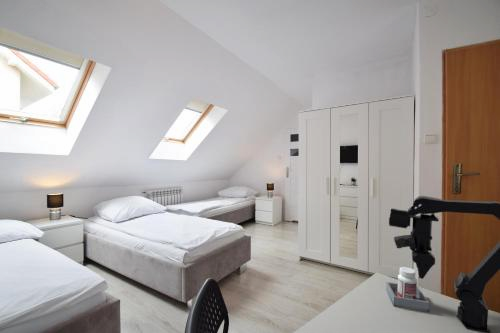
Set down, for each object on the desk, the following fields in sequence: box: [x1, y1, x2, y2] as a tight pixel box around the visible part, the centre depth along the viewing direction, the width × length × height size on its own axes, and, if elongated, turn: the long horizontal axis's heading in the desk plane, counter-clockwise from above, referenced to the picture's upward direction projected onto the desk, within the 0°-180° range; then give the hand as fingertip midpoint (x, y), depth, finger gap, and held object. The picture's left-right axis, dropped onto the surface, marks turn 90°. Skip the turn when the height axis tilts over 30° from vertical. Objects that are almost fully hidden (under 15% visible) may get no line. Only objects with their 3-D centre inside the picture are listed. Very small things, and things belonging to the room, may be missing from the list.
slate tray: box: [385, 281, 430, 313], centre depth 93 cm, size 11×11×4 cm
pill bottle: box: [397, 266, 418, 300], centre depth 93 cm, size 6×6×11 cm
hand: (419, 272), depth 89 cm, fingers open, 9 cm apart
